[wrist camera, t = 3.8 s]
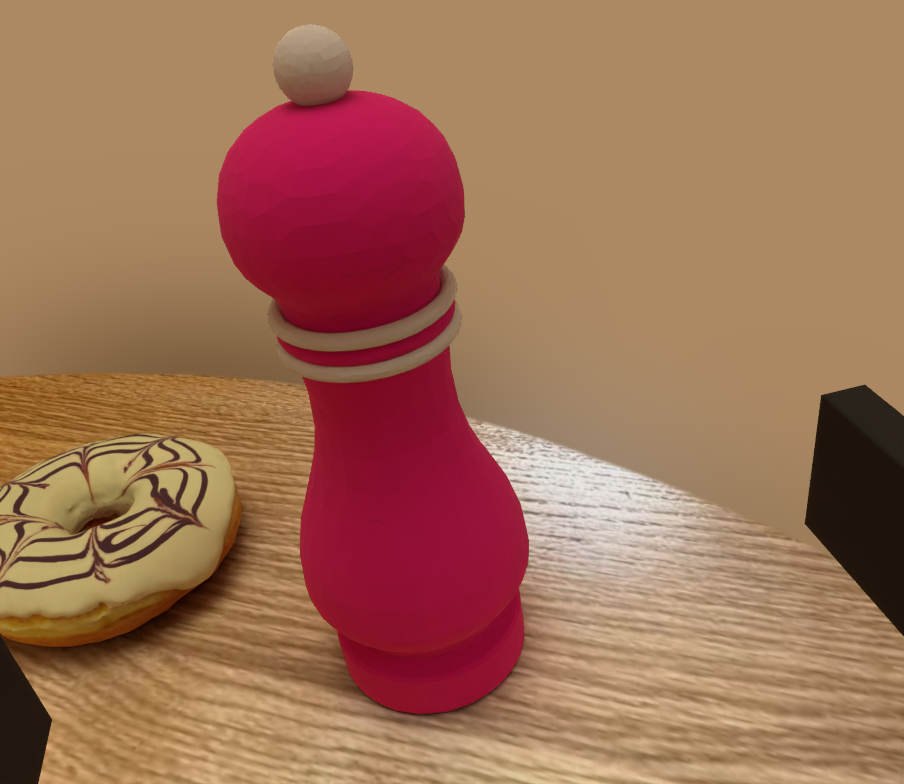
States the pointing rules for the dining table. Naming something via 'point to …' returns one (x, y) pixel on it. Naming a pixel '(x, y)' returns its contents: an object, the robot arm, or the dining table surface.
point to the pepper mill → (378, 380)
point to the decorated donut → (111, 536)
